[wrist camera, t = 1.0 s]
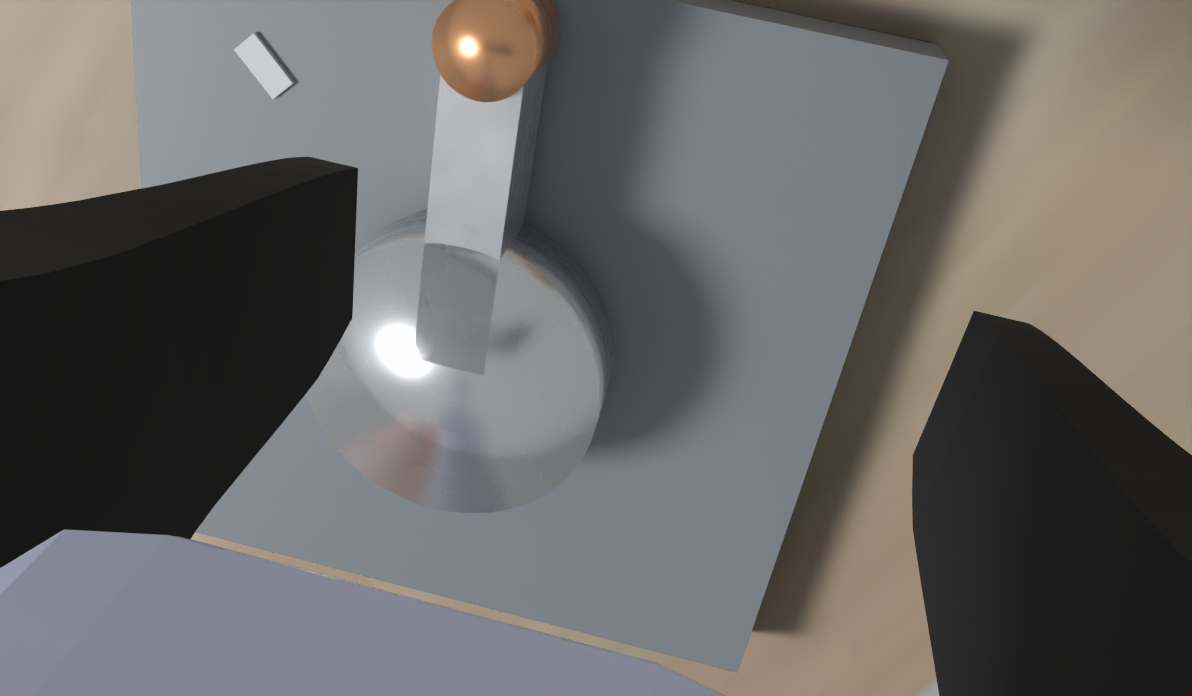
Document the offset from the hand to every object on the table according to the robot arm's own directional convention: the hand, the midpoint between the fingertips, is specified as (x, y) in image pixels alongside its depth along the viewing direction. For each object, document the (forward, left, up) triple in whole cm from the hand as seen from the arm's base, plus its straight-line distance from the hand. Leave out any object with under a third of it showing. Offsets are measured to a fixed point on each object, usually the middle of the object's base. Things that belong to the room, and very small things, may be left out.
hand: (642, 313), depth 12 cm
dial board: (-6, +4, -10) cm, 13 cm away
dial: (-4, +4, -9) cm, 10 cm away
